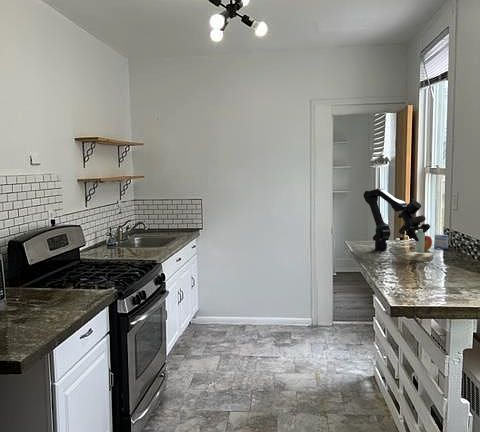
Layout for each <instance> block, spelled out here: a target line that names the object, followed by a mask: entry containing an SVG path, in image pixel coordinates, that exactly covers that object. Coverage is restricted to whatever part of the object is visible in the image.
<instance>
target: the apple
mask: <svg viewBox="0 0 480 432" xmlns="http://www.w3.org/2000/svg"><path fill="white" fill-rule="evenodd" d="M425 236H426V241H425V246H424V252H428V251H429V250H430V249H431V248H432V244H433V240H432V236H429V235H425Z"/></svg>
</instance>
